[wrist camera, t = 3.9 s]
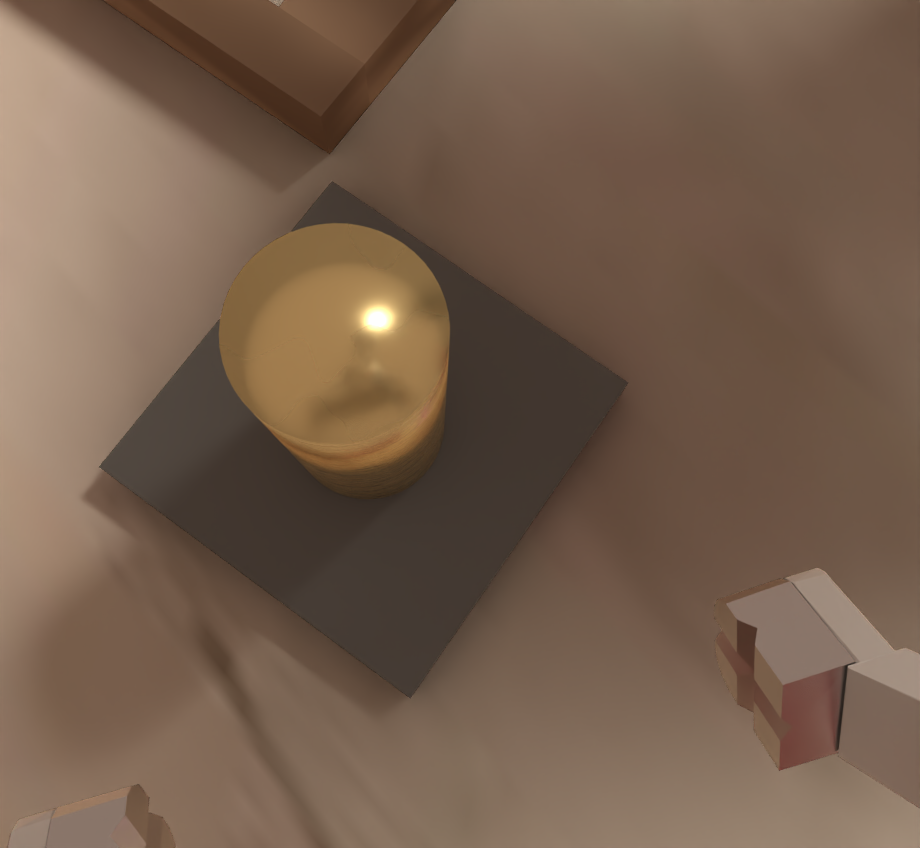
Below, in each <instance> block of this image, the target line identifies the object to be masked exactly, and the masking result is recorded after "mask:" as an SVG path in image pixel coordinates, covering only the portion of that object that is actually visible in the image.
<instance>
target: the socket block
mask: <svg viewBox="0 0 920 848" xmlns="http://www.w3.org/2000/svg"><path fill="white" fill-rule="evenodd" d="M103 1H105V2H106V3H107V4H109V5H110V6H112V7H113V8H115V9H116V10H118V11H119V12H121V13H122V14H124V15H125V16H127V17H128V18H130V19H131V20H133V21H134V22H136V23H137V24H138V25H140V26H141V27H143V28H144V29H146V30H147V31H149V32H150V33H152V34H153V35H155V36H156V37H158V38H159V39H161V40H162V41H164V42H165V43H167V44H168V45H169V46H171V47H172V48H174V49H175V50H177V51H178V52H180V53H181V54H183V55H184V56H186V57H187V58H189V59H190V60H192V61H193V62H195V63H196V64H198V65H199V66H200V67H202V68H203V69H205V70H206V71H208V72H209V73H211V74H212V75H214V76H215V77H217V78H218V79H220V80H221V81H223V82H224V83H226V84H227V85H229V86H230V87H231V88H233V89H234V90H236V91H237V92H239V93H240V94H242V95H243V96H245V97H246V98H248V99H249V100H251V101H252V102H254V103H255V104H257V105H258V106H259V107H261V108H262V109H264V110H265V111H267V112H268V113H270V114H271V115H273V116H274V117H276V118H277V119H279V120H280V121H282V122H283V123H285V124H286V125H288V126H289V127H290V128H292V129H293V130H295V131H296V132H298V133H299V134H301V135H302V136H304V137H305V138H307V139H308V140H310V141H311V142H313V143H314V144H316V145H317V146H319V147H320V148H321V149H323V150H324V151H326V152H327V153H329V154H330V153H331V152H332V150H333V149H334V148H335V147H336V145H337V144H338V143H339V142H340V141H341V139H342V138H343V137H344V136H345V135H346V133H347V132H348V131H349V130H350V128H351V127H352V126H353V125H354V124H355V122H356V121H357V120H358V119H359V118H360V116H361V115H362V114H363V113H364V111H365V110H366V109H367V108H368V107H369V105H370V104H371V103H372V102H373V101H374V99H375V98H376V97H377V96H378V94H379V93H380V92H381V91H382V90H383V88H384V87H385V86H386V85H387V84H388V82H389V81H390V80H391V79H392V77H393V76H394V75H395V74H396V73H397V71H398V70H399V69H400V68H401V67H402V65H403V64H404V63H405V62H406V60H407V59H408V58H409V57H410V56H411V54H412V53H413V52H414V51H415V50H416V48H417V47H418V46H419V45H420V43H421V42H422V41H423V40H424V39H425V37H426V36H427V35H428V34H429V33H430V31H431V30H432V29H433V28H434V26H435V25H436V24H437V23H438V22H439V20H440V19H441V18H442V17H443V16H444V14H445V13H446V12H447V11H448V9H449V8H450V7H451V6H452V5H453V3H454V2H455V1H456V0H284V2H283V3H282V4H281V5H280V6H279V7H278V6H276V5H275V4H273V3H272V2H270V1H269V0H103Z"/></svg>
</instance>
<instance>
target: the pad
mask: <svg viewBox="0 0 920 848" xmlns="http://www.w3.org/2000/svg"><path fill="white" fill-rule="evenodd" d="M329 223H344V224H354V225H360V226H365V227H368V228H372V229H375V230H378V231H380V232H383V233H385V234H387V235H390V236H392V237H393V238H395V239H397V240H398V241H400V242H402V243H403V244H405V245H406V246H407V247H408V248H410V249H411V250H412V251H414V252H415V253H416V254H417V255H418V256H419V257H420V258H421V259H422V260H423V261H424V262H425V264H426V265H427V266H428V268H429V269H430V270H431V272H432V273H433V275H434V276H435V278H436V280H437V282H438V284H439V285H440V288H441V290H442V293H443V295H444V298H445V301H446V305H447V309H448V313H449V323H450V342H449V358H448V375H447V391H446V407H445V423H444V434H443V440H442V444H441V447H440V450H439V452H438V455H437V457H436V459H435V461H434V462H433V464H432V465H431V467H430V468H429V470H428V471H427V472H426V473H425V474H424V475H423V476H422V477H421V478H420V479H419V480H418V481H417V482H416V483H414V484H413V485H411V486H410V487H409V488H407V489H405V490H403V491H401V492H399V493H397V494H394V495H391V496H388V497H383V498H377V499H358V498H352V497H348V496H344V495H341V494H339V493H336V492H334V491H332V490H330V489H329V488H327V487H325V486H324V485H322V484H321V483H320V482H319V481H318V480H316V479H315V478H314V477H313V476H312V475H311V473H310V472H309V471H308V470H307V469H306V468H305V467H304V466H303V465H302V464H301V463H300V462H299V461H298V460H297V459H296V458H295V457H294V456H293V455H292V454H291V452H290V451H289V450H288V449H287V448H286V447H285V446H284V445H283V444H282V443H281V442H280V441H279V440H278V439H277V438H276V437H275V436H274V435H273V434H272V433H271V431H270V430H269V429H268V428H267V427H266V426H265V425H264V424H263V423H262V422H261V421H260V420H259V419H258V418H257V417H256V416H255V415H254V414H253V413H252V412H251V410H250V409H249V408H248V407H247V406H246V405H245V404H244V403H243V402H242V400H241V399H240V398H239V396H238V395H237V393H236V392H235V390H234V389H233V387H232V385H231V383H230V381H229V379H228V377H227V375H226V372H225V369H224V366H223V363H222V358H221V353H220V347H219V326H220V319H219V320H218V322H217V323H216V324H215V325H214V327H213V328H212V329H211V330H210V332H209V333H208V334H207V335H206V336H205V338H204V339H203V340H202V341H201V343H200V344H199V345H198V346H197V347H196V349H195V350H194V351H193V352H192V354H191V355H190V356H189V357H188V358H187V360H186V361H185V362H184V363H183V365H182V366H181V367H180V368H179V369H178V371H177V372H176V373H175V374H174V376H173V377H172V378H171V379H170V381H169V382H168V383H167V384H166V385H165V387H164V388H163V389H162V390H161V392H160V393H159V394H158V395H157V396H156V398H155V399H154V400H153V401H152V403H151V404H150V405H149V406H148V407H147V409H146V410H145V411H144V412H143V414H142V415H141V416H140V417H139V418H138V420H137V421H136V422H135V423H134V425H133V426H132V427H131V428H130V430H129V431H128V432H127V433H126V434H125V436H124V437H123V438H122V439H121V441H120V442H119V443H118V444H117V445H116V447H115V448H114V449H113V450H112V452H111V453H110V454H109V455H108V456H107V458H106V459H105V460H104V461H103V463H102V464H101V465H100V466H99V467H100V468H101V469H103V470H104V471H105V472H107V473H108V474H109V475H111V476H112V477H113V478H115V479H116V480H117V481H119V482H120V483H121V484H123V485H124V486H125V487H127V488H128V489H129V490H131V491H132V492H133V493H135V494H136V495H137V496H139V497H140V498H142V499H143V500H144V501H146V502H147V503H148V504H150V505H151V506H152V507H154V508H155V509H156V510H158V511H159V512H160V513H162V514H163V515H164V516H166V517H167V518H168V519H170V520H171V521H172V522H174V523H175V524H176V525H178V526H179V527H181V528H182V529H183V530H185V531H186V532H187V533H189V534H190V535H191V536H193V537H194V538H195V539H197V540H198V541H199V542H201V543H202V544H203V545H205V546H206V547H207V548H209V549H210V550H211V551H213V552H214V553H215V554H217V555H218V556H219V557H221V558H222V559H224V560H225V561H226V562H228V563H229V564H230V565H232V566H233V567H234V568H236V569H237V570H238V571H240V572H241V573H242V574H244V575H245V576H246V577H248V578H249V579H250V580H252V581H253V582H254V583H256V584H257V585H258V586H260V587H261V588H263V589H264V590H265V591H267V592H268V593H269V594H271V595H272V596H273V597H275V598H276V599H277V600H279V601H280V602H281V603H283V604H284V605H285V606H287V607H288V608H289V609H291V610H292V611H293V612H295V613H296V614H297V615H299V616H300V617H302V618H303V619H304V620H306V621H307V622H308V623H310V624H311V625H312V626H314V627H315V628H316V629H318V630H319V631H320V632H322V633H323V634H324V635H326V636H327V637H328V638H330V639H331V640H332V641H334V642H335V643H336V644H338V645H339V646H341V647H342V648H343V649H345V650H346V651H347V652H349V653H350V654H351V655H353V656H354V657H355V658H357V659H358V660H359V661H361V662H362V663H363V664H365V665H366V666H367V667H369V668H370V669H371V670H373V671H374V672H375V673H377V674H378V675H380V676H381V677H382V678H384V679H385V680H386V681H388V682H389V683H390V684H392V685H393V686H394V687H396V688H397V689H398V690H400V691H401V692H402V693H404V694H405V695H406V696H408V697H409V698H411V697H412V695H413V694H414V693H415V691H416V690H417V688H418V687H419V685H420V684H421V682H422V681H423V680H424V678H425V677H426V675H427V674H428V672H429V671H430V669H431V668H432V666H433V665H434V664H435V662H436V661H437V659H438V658H439V656H440V655H441V653H442V652H443V651H444V649H445V648H446V646H447V645H448V643H449V642H450V640H451V639H452V638H453V636H454V635H455V633H456V632H457V630H458V629H459V627H460V626H461V625H462V623H463V622H464V620H465V619H466V617H467V616H468V614H469V613H470V611H471V610H472V609H473V607H474V606H475V604H476V603H477V601H478V600H479V598H480V597H481V596H482V594H483V593H484V591H485V590H486V588H487V587H488V585H489V584H490V583H491V581H492V580H493V578H494V577H495V575H496V574H497V572H498V571H499V569H500V568H501V567H502V565H503V564H504V562H505V561H506V559H507V558H508V556H509V555H510V554H511V552H512V551H513V549H514V548H515V546H516V545H517V543H518V542H519V541H520V539H521V538H522V536H523V535H524V533H525V532H526V530H527V529H528V528H529V526H530V525H531V523H532V522H533V520H534V519H535V517H536V516H537V514H538V513H539V512H540V510H541V509H542V507H543V506H544V504H545V503H546V501H547V500H548V499H549V497H550V496H551V494H552V493H553V491H554V490H555V488H556V487H557V486H558V484H559V483H560V481H561V480H562V478H563V477H564V475H565V474H566V472H567V471H568V470H569V468H570V467H571V465H572V464H573V462H574V461H575V459H576V458H577V457H578V455H579V454H580V452H581V451H582V449H583V448H584V446H585V445H586V444H587V442H588V441H589V439H590V438H591V436H592V435H593V433H594V432H595V431H596V429H597V428H598V426H599V425H600V423H601V422H602V420H603V419H604V417H605V416H606V415H607V413H608V412H609V410H610V409H611V407H612V406H613V404H614V403H615V402H616V400H617V399H618V397H619V396H620V394H621V393H622V391H623V390H624V389H625V387H626V386H627V384H628V382H626V381H625V380H623V379H622V378H620V377H619V376H618V375H616V374H615V373H613V372H612V371H610V370H609V369H607V368H606V367H604V366H603V365H601V364H600V363H598V362H597V361H595V360H594V359H593V358H591V357H590V356H588V355H587V354H585V353H584V352H582V351H581V350H579V349H578V348H576V347H575V346H573V345H572V344H571V343H569V342H568V341H566V340H565V339H563V338H562V337H560V336H559V335H557V334H556V333H554V332H553V331H551V330H550V329H549V328H547V327H546V326H544V325H543V324H541V323H540V322H538V321H537V320H535V319H534V318H532V317H531V316H529V315H528V314H526V313H525V312H524V311H522V310H521V309H519V308H518V307H516V306H515V305H513V304H512V303H510V302H509V301H507V300H506V299H504V298H503V297H502V296H500V295H499V294H497V293H496V292H494V291H493V290H491V289H490V288H488V287H487V286H485V285H484V284H482V283H481V282H479V281H478V280H477V279H475V278H474V277H472V276H471V275H469V274H468V273H466V272H465V271H463V270H462V269H460V268H459V267H457V266H456V265H455V264H453V263H452V262H450V261H449V260H447V259H446V258H444V257H443V256H441V255H440V254H438V253H437V252H435V251H434V250H432V249H431V248H430V247H428V246H427V245H425V244H424V243H422V242H421V241H419V240H418V239H416V238H415V237H413V236H412V235H410V234H409V233H408V232H406V231H405V230H403V229H402V228H400V227H399V226H397V225H396V224H394V223H393V222H391V221H390V220H388V219H387V218H386V217H384V216H383V215H381V214H380V213H378V212H377V211H375V210H374V209H372V208H371V207H369V206H368V205H366V204H365V203H363V202H362V201H361V200H359V199H358V198H356V197H355V196H353V195H352V194H350V193H349V192H347V191H346V190H344V189H343V188H341V187H340V186H339V185H337V184H336V183H334V182H333V181H332V182H331V183H330V185H329V186H328V187H327V188H326V189H325V191H324V192H323V193H322V194H321V196H320V197H319V198H318V199H317V200H316V202H315V203H314V204H313V205H312V207H311V208H310V209H309V210H308V211H307V213H306V214H305V215H304V216H303V218H302V219H301V220H300V221H299V222H298V224H297V225H296V226H295V227H294V229H293V230H292V231H295V230H298V229H301V228H304V227H309V226H314V225H319V224H329ZM292 231H291V232H292Z"/></svg>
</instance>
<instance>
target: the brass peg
mask: <svg viewBox="0 0 920 848" xmlns="http://www.w3.org/2000/svg"><path fill="white" fill-rule="evenodd" d="M449 342H450V323H449V313H448V309H447V305H446V301H445V298H444V295H443V293H442V290H441V288H440V285H439V284H438V282H437V280H436V278H435V276H434V275H433V273H432V272H431V270H430V269H429V268H428V266H427V265H426V264H425V262H424V261H423V260H422V259H421V258H420V257H419V256H418V255H417V254H416V253H415V252H414V251H412V250H411V249H410V248H408V247H407V246H406V245H405V244H403V243H402V242H400V241H398V240H397V239H395V238H393V237H392V236H390V235H387V234H385V233H383V232H380V231H378V230H375V229H372V228H368V227H365V226H360V225H354V224H344V223H329V224H319V225H314V226H309V227H304V228H301V229H298V230H295V231H292V232H290V233H288V234H286V235H284V236H282V237H280V238H277V239H276V240H274V241H273V242H271V243H270V244H268V245H267V246H265V247H264V248H263V249H261V250H260V251H259V252H258V253H257V254H255V255H254V256H253V257H252V258H251V259H250V260H249V262H248V263H247V264H246V265H245V266H244V267H243V268H242V270H241V271H240V273H239V274H238V275H237V277H236V278H235V280H234V282H233V284H232V286H231V287H230V289H229V291H228V294H227V296H226V299H225V302H224V304H223V309H222V313H221V317H220V326H219V347H220V353H221V358H222V363H223V366H224V369H225V372H226V375H227V377H228V379H229V381H230V383H231V385H232V387H233V389H234V390H235V392H236V393H237V395H238V396H239V398H240V399H241V400H242V402H243V403H244V404H245V405H246V406H247V407H248V408H249V409H250V410H251V412H252V413H253V414H254V415H255V416H256V417H257V418H258V419H259V420H260V421H261V422H262V423H263V424H264V425H265V426H266V427H267V428H268V429H269V430H270V431H271V433H272V434H273V435H274V436H275V437H276V438H277V439H278V440H279V441H280V442H281V443H282V444H283V445H284V446H285V447H286V448H287V449H288V450H289V451H290V452H291V454H292V455H293V456H294V457H295V458H296V459H297V460H298V461H299V462H300V463H301V464H302V465H303V466H304V467H305V468H306V469H307V470H308V471H309V472H310V473H311V475H312V476H313V477H314V478H315V479H316V480H318V481H319V482H320V483H321V484H322V485H324V486H325V487H327V488H329V489H330V490H332V491H334V492H336V493H339V494H341V495H344V496H348V497H352V498H358V499H377V498H383V497H388V496H391V495H394V494H397V493H399V492H401V491H403V490H405V489H407V488H409V487H410V486H411V485H413V484H414V483H416V482H417V481H418V480H419V479H420V478H421V477H422V476H423V475H424V474H425V473H426V472H427V471H428V470H429V468H430V467H431V465H432V464H433V462H434V461H435V459H436V457H437V455H438V452H439V450H440V447H441V444H442V440H443V434H444V423H445V407H446V391H447V375H448V358H449Z"/></svg>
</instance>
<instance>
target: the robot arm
mask: <svg viewBox="0 0 920 848" xmlns="http://www.w3.org/2000/svg"><path fill="white" fill-rule="evenodd" d="M714 619H715V620H716V622H717V623H718V625H719V626H720V628H721V629H722V631H721V632H720V633H719V635H718V636H717V638H716V639H715V649H716V658H717V661H718V665H719V668H720V672H721V675H722V677H723V679H724V681H725V683H726V686H727V688H728V690H729V691H730V693H731V695H732V696H733V698H734V700H735V701H736V703H737V704H738V705H740V706H742V707H744V708H746V709H748V710H750V711H751V712H753V713H754V732H755V733H756V735H757V737H758V738H759V740H760V741H761V743H762V744H763V746H764V748H765V749H766V751H767V752H768V754H769V755H770V757H771V759H772V760H773V762H774V763H775V765H776V767H777V768H778V770H779V771H780V770H783V769H787V768H790V767H793V766H796V765H800V764H803V763H806V762H810V761H813V760H816V759H819V758H823V757H826V756H829V755H832V754H836V753H838V757H840V758H842V759H843V760H845V761H846V762H848V763H849V764H851V765H853V766H854V767H856V768H857V769H859V770H860V771H862V772H864V773H865V774H867V775H868V776H870V777H871V778H873V779H875V780H876V781H878V782H879V783H881V784H882V785H884V786H885V787H887V788H889V789H890V790H892V791H893V792H895V793H896V794H898V795H900V796H901V797H903V798H904V799H906V800H907V801H909V802H911V803H912V804H914V805H915V806H917V807H918V808H920V654H919V653H917V652H914V651H912V650H910V649H907V648H902V649H898V650H894V649H893V648H892V647H891V645H890V644H889V643H888V642H887V641H886V640H885V639H884V638H883V636H882V635H881V634H880V633H879V632H878V631H877V630H876V628H875V627H874V626H873V625H872V624H871V623H870V622H869V621H868V619H867V618H866V617H865V616H864V615H863V614H862V613H861V612H860V610H859V609H858V608H857V607H856V606H855V605H854V604H853V603H852V601H851V600H850V599H849V598H848V597H847V596H846V595H845V593H844V592H843V591H842V590H841V589H840V588H839V587H838V586H837V584H836V583H835V582H834V581H833V580H832V579H831V578H830V577H829V575H828V574H827V573H826V572H825V571H823V570H821V569H819V568H814V569H811V570H808V571H805V572H801V573H798V574H795V575H792V576H789V577H786V578H783V579H777V580H774V581H771V582H768V583H765V584H762V585H759V586H756V587H753V588H750V589H747V590H744V591H741V592H738V593H735V594H732V595H729V596H726V597H723V598H720V599H717V601H716V603H715V605H714ZM149 799H150V798H149V796H148V795H147V794H146V793H145V791H144V790H143V789H142V787H141V786H140V785H139V784H137V785H133V786H130V787H126V788H123V789H119V790H116V791H112V792H109V793H105V794H102V795H98V796H95V797H91V798H88V799H84V800H81V801H77V802H74V803H71V804H67V805H64V806H60V807H57V808H54V809H50V810H47V811H44V812H41V813H37V814H34V815H31V816H27V817H24V818H21V819H19V820H18V822H17V823H16V825H15V827H14V828H13V830H12V832H11V834H10V838H9V842H8V846H7V848H176V844H175V841H174V838H173V835H172V833H171V830H170V828H169V826H168V824H167V823H166V821H165V820H164V818H163V817H161V816H158V815H155V814H152V813H149Z"/></svg>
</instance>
